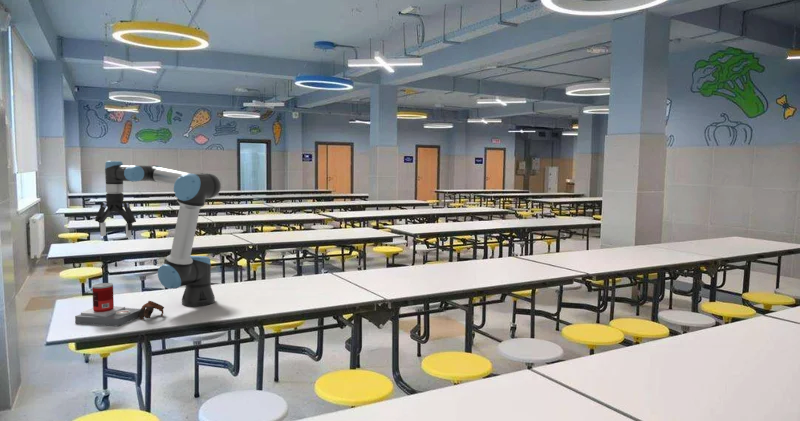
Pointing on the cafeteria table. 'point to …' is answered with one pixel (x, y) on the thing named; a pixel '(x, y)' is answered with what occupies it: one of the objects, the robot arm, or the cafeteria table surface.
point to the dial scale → (108, 316)
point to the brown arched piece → (149, 309)
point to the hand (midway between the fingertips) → (115, 236)
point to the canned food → (103, 297)
